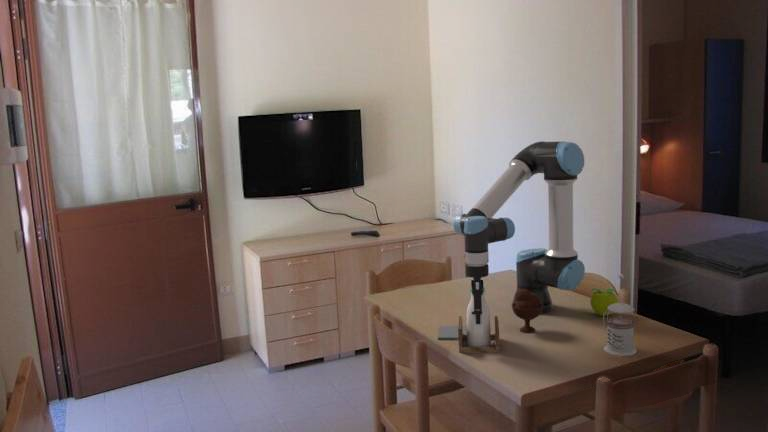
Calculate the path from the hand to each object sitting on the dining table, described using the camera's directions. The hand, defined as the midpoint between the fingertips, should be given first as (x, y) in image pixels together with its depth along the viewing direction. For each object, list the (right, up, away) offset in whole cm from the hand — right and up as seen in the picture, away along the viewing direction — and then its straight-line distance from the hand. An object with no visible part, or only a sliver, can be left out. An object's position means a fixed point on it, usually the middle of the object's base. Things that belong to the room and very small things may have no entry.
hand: (478, 326), depth 211 cm
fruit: (+50, 0, +25) cm, 56 cm away
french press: (+44, -6, -8) cm, 45 cm away
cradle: (0, -7, +1) cm, 7 cm away
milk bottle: (0, -7, +1) cm, 7 cm away
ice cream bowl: (+19, -4, +12) cm, 23 cm away
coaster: (-6, -5, +13) cm, 15 cm away
